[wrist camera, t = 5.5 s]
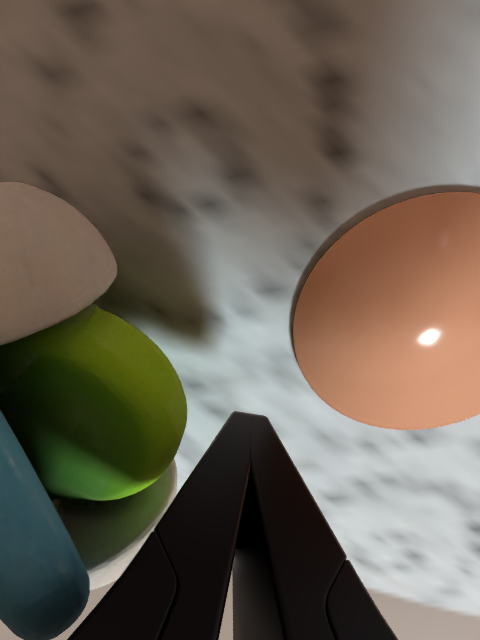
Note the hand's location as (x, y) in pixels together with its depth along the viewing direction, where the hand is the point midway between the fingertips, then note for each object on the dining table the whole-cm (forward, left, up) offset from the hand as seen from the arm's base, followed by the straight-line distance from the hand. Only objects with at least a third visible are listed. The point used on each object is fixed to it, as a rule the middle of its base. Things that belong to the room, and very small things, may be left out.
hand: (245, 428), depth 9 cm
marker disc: (-4, -2, -2) cm, 5 cm away
